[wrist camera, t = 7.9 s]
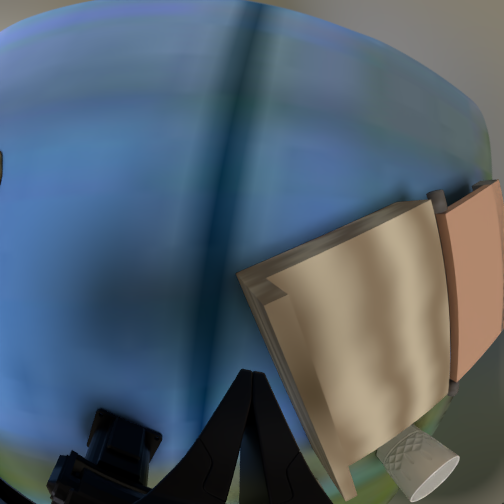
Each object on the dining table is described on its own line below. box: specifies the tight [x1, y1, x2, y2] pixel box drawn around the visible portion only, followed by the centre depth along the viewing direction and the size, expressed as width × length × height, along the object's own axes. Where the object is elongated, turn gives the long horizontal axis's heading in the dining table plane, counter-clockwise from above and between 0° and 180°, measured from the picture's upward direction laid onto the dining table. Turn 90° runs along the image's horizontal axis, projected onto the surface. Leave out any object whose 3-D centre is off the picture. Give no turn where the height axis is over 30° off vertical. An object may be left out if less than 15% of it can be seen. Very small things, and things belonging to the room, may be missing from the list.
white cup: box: [376, 424, 459, 502], centre depth 22 cm, size 8×8×10 cm
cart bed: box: [236, 190, 459, 501], centre depth 19 cm, size 18×23×8 cm
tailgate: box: [435, 180, 504, 382], centre depth 22 cm, size 3×19×13 cm
